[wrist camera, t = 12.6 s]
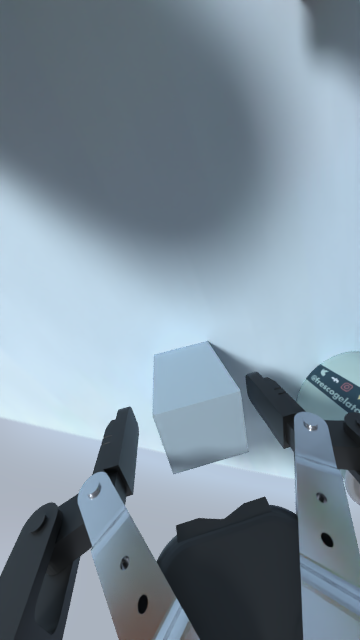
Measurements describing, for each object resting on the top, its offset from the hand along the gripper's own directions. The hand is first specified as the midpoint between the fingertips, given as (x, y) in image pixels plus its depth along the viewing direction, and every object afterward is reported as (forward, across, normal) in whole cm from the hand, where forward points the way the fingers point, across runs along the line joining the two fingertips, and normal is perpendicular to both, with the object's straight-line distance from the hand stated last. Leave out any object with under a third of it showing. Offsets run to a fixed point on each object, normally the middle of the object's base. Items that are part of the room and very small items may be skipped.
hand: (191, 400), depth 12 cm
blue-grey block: (+3, 0, 0) cm, 3 cm away
